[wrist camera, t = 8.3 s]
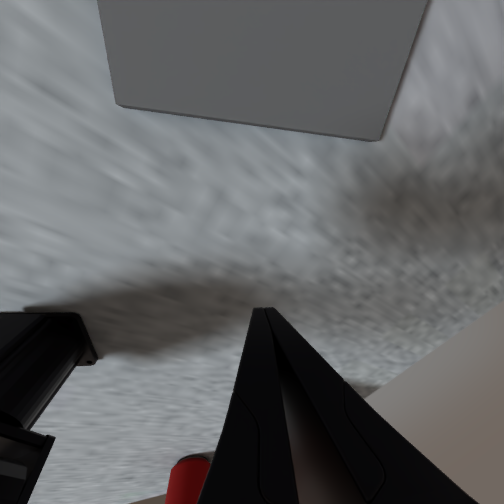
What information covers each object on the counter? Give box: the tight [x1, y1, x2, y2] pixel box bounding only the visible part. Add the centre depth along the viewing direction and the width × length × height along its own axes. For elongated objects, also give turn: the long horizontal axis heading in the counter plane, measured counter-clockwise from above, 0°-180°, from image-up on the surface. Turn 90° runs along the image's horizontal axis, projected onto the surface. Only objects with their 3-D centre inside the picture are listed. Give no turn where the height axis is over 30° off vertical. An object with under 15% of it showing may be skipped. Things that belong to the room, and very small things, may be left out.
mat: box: [97, 0, 427, 142], centre depth 9 cm, size 9×15×1 cm, turn 84°
